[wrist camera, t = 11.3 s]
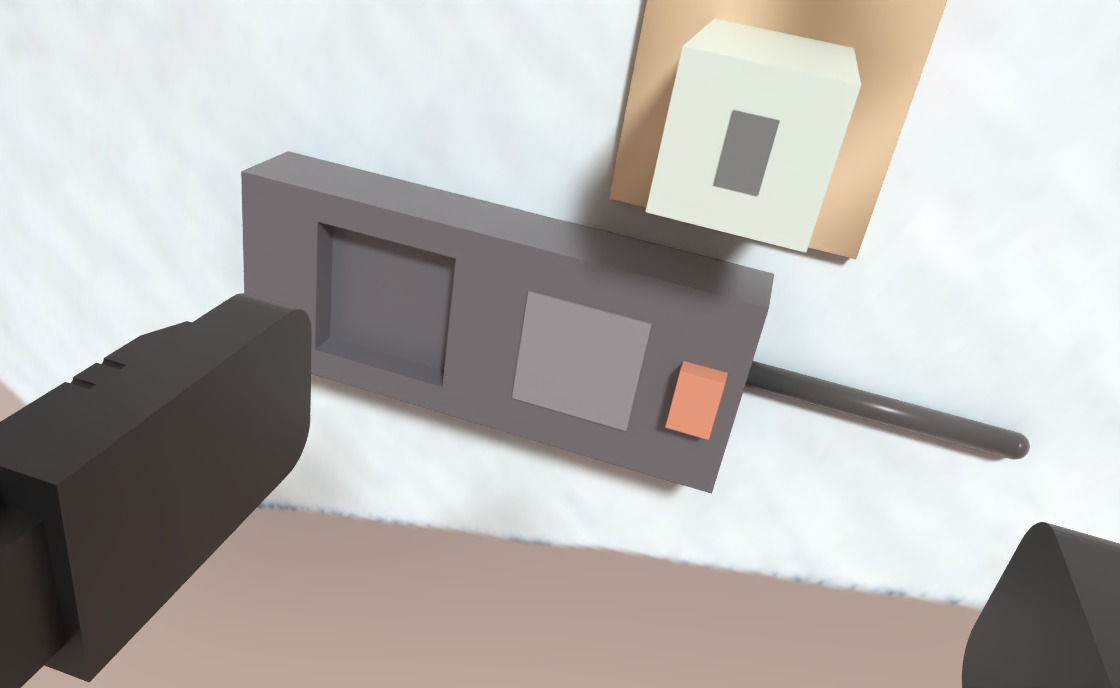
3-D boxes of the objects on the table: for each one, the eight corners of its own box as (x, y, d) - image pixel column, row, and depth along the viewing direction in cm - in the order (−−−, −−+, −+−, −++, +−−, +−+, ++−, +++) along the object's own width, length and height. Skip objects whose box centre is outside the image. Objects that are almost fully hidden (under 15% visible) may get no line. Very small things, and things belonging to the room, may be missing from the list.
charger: (682, 153, 30) (645, 213, 24) (714, 18, 28) (682, 46, 22) (810, 183, 29) (805, 253, 23) (853, 47, 27) (861, 85, 21)
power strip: (287, 323, 39) (234, 362, 35) (288, 151, 35) (228, 176, 31) (983, 524, 33) (1000, 594, 30) (1073, 349, 30) (1105, 406, 26)
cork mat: (612, 194, 32) (608, 198, 31) (663, -71, 27) (660, -71, 27) (855, 253, 30) (855, 259, 30) (950, -17, 26) (952, -16, 25)
